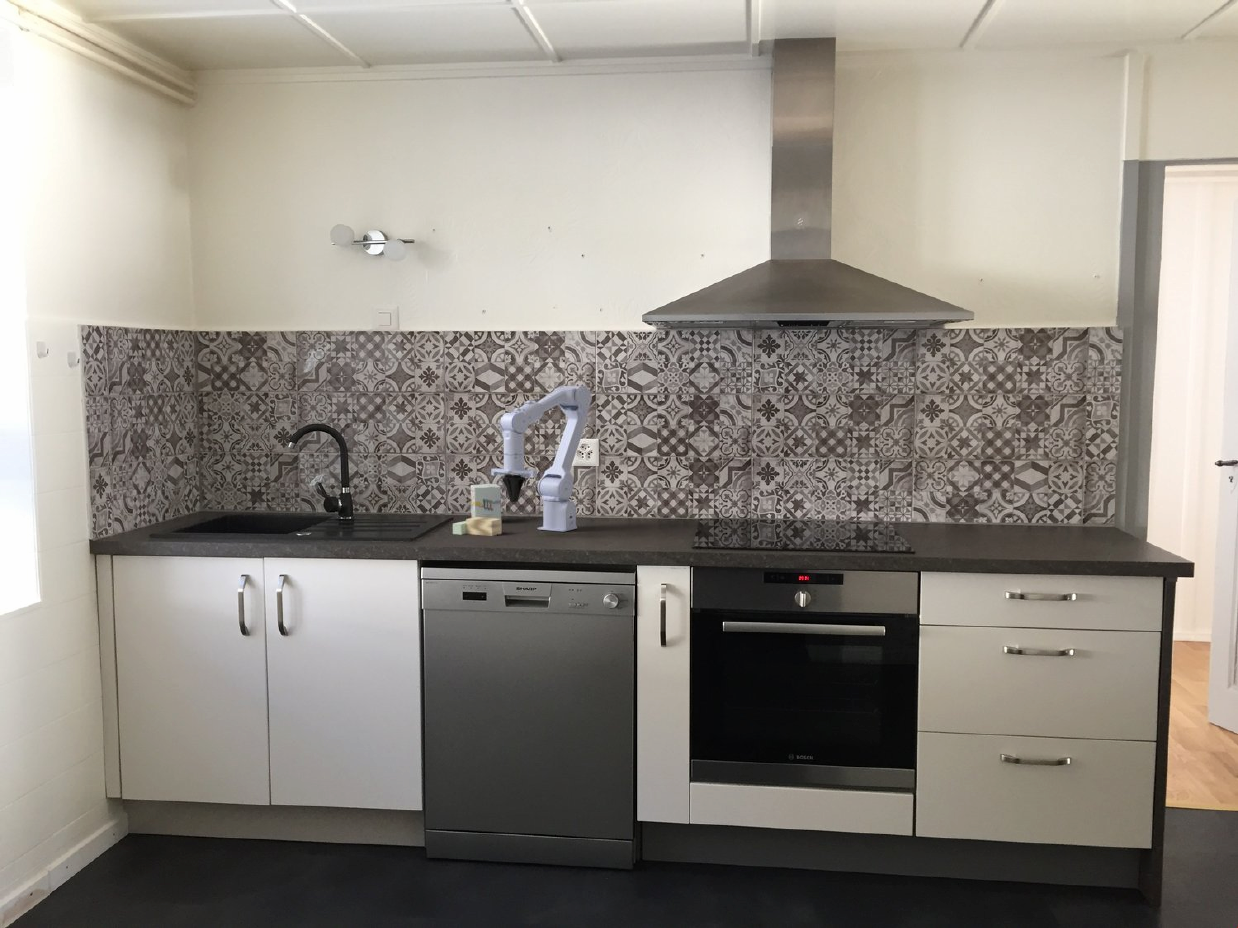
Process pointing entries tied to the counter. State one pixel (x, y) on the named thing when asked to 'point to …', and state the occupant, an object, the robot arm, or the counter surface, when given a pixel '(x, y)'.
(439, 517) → the counter surface
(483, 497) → the ink box
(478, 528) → the block
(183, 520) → the counter surface
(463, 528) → the rail
